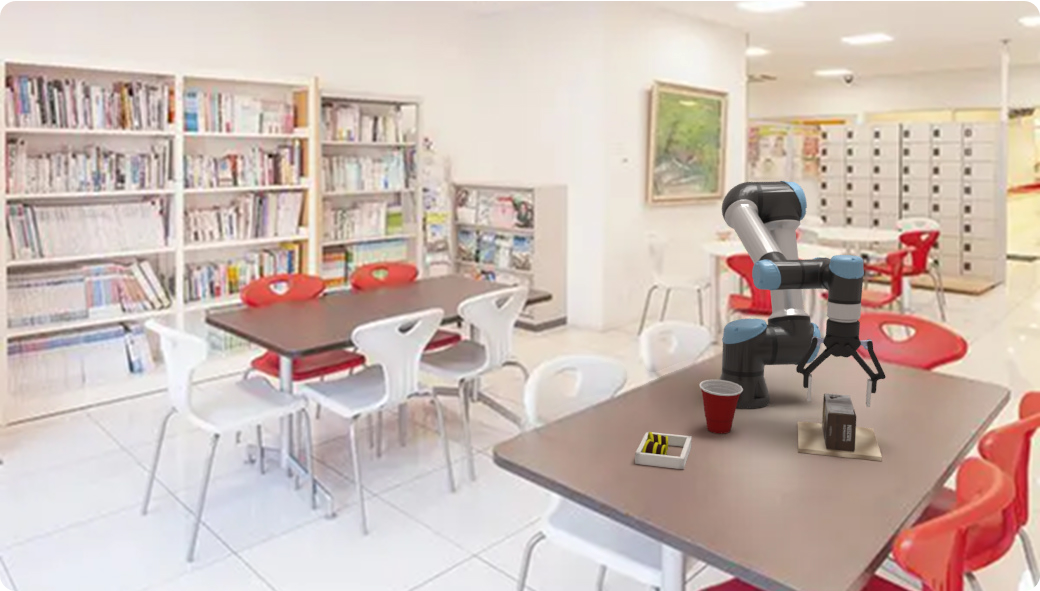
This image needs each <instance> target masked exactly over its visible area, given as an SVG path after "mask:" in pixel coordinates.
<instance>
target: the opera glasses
mask: <svg viewBox="0 0 1040 591" xmlns="http://www.w3.org/2000/svg"><path fill="white" fill-rule="evenodd" d="M648 432H649V433H648V436H647V441H646V442H645V444H644V447H643V451H642V453H651V454H660V455H667V453H668V450H669V445H668V436H661V435H660V434H657V435H656V434H652V431H648Z"/></svg>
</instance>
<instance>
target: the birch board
mask: <svg viewBox="0 0 1040 591" xmlns="http://www.w3.org/2000/svg"><path fill="white" fill-rule="evenodd" d="M797 449H798V450H797V452H798V453H801V454H813V455H820V456H829V457H839V458H846V459H847V458H848V459H859V460H869V461H877V462H882V460H883V456H882V452H881V449H880V447H879V443H878V440H877V436H876V433H875V430H874V428H873V427H872V428H871V427H863V426H856V436H855V451H843V450H833V449H826V444H825V440H824V434H823V429H822V423H821V422H820V423H818V422H810V421H797Z"/></svg>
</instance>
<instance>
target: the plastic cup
mask: <svg viewBox="0 0 1040 591" xmlns="http://www.w3.org/2000/svg"><path fill="white" fill-rule="evenodd" d="M699 388H700V390H701V395H702V401H703V409H704V416H705V423H706V427H707V428H706V429H707V431H709V432H711V433H714V434H728V433H730V432H731V429H732V425H733V421H734V418H735V414H736V410H737V408H736V406H737V401H738V399H739V396H740V394H741V392H742V391H743V388H742V387H741V386H740V385H738V384H736V383H733V382H730V381H725V380H719V379H707V380H702V381H701V382H699Z"/></svg>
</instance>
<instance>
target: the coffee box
mask: <svg viewBox="0 0 1040 591" xmlns="http://www.w3.org/2000/svg"><path fill="white" fill-rule="evenodd" d="M822 400H823V401H822V403H823V404H822V417H821V419H822V420H821V424H822V429H823V434H824V440H825V444H826V449H833V450H843V451H855V436H856V427H857V414H856V410H855V409H854V405H853V402H852V399H851V395H848V394H837V393H824V394H823V399H822Z"/></svg>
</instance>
